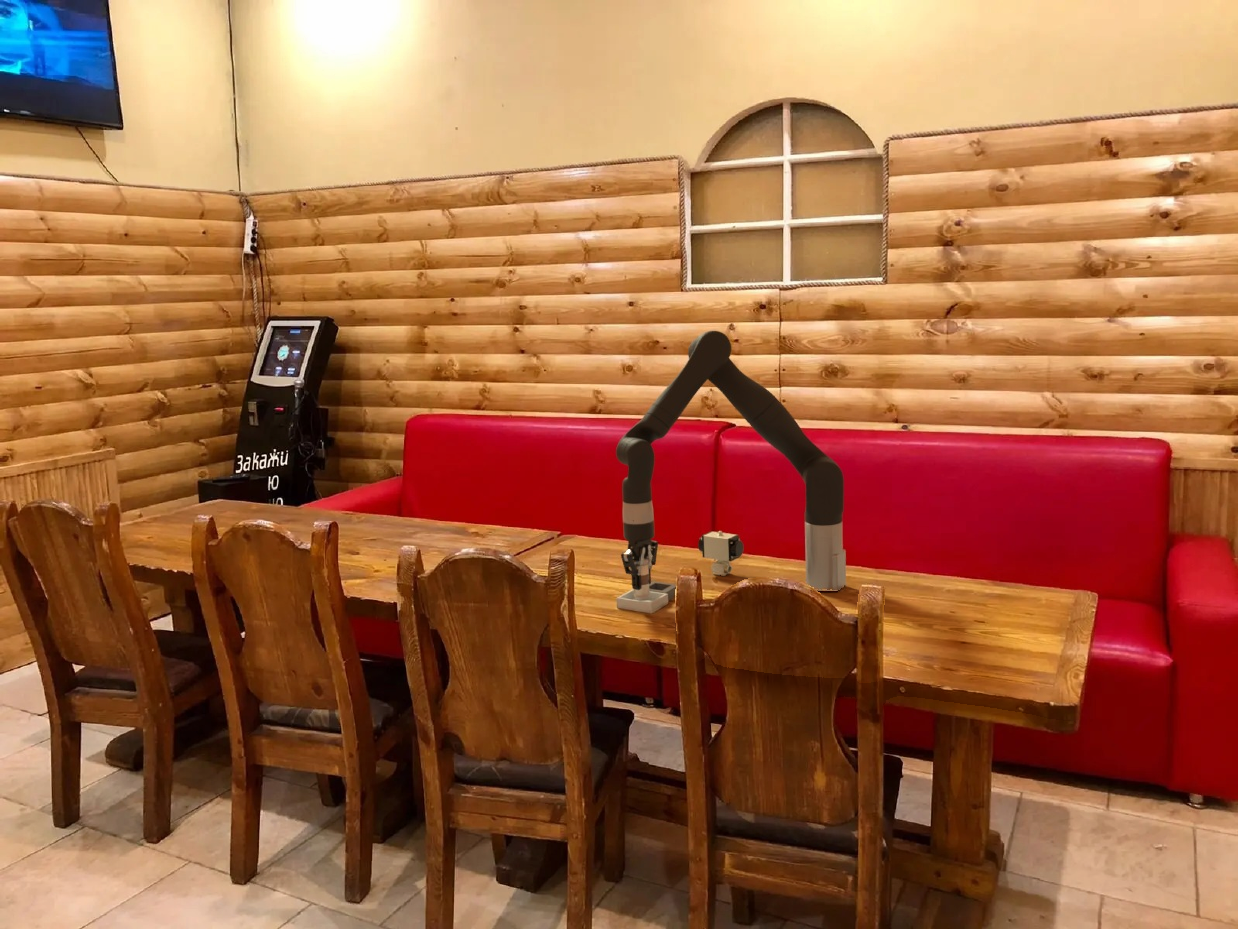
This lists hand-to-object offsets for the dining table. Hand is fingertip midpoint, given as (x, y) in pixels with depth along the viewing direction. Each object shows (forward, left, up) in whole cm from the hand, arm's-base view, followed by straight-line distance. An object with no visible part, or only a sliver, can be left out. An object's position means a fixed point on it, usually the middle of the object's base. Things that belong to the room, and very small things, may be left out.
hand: (641, 586), depth 233 cm
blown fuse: (0, 0, -3) cm, 3 cm away
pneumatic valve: (-6, -31, -5) cm, 32 cm away
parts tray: (0, 0, -5) cm, 5 cm away
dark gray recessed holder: (0, -8, -5) cm, 9 cm away
